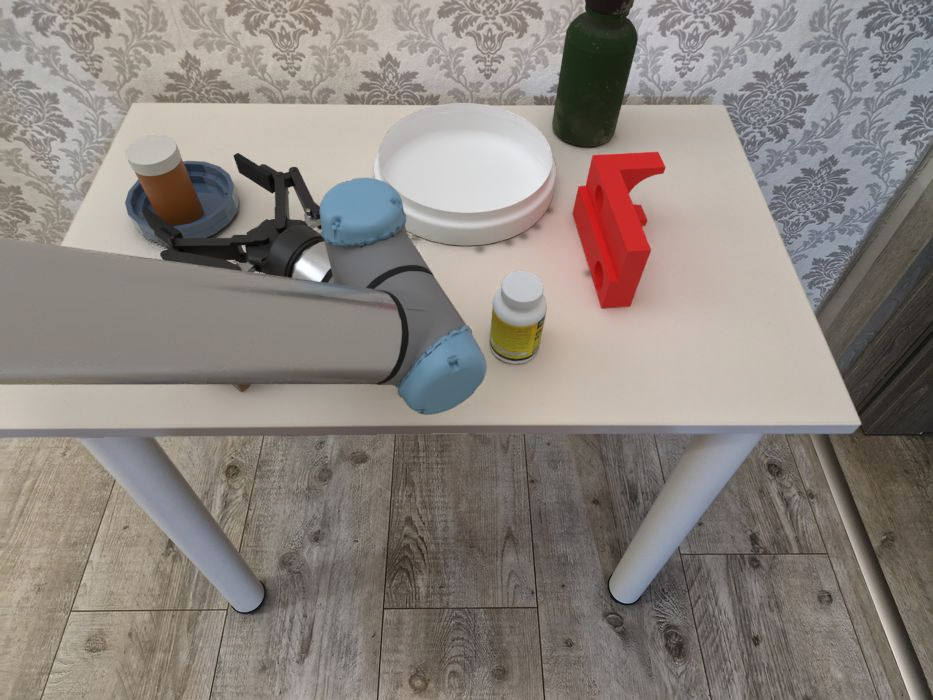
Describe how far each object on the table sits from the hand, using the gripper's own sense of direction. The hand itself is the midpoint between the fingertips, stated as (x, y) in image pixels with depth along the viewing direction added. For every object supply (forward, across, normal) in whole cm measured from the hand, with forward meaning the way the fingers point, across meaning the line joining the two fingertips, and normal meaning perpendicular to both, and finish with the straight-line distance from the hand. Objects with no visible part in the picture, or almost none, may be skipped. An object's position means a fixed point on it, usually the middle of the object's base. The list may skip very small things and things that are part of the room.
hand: (195, 188), depth 77 cm
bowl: (+9, +2, -10) cm, 13 cm away
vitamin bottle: (+8, 0, -9) cm, 12 cm away
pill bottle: (-42, +12, -10) cm, 45 cm away
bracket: (-44, +34, -10) cm, 57 cm away
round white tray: (-18, +32, -10) cm, 38 cm away
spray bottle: (-25, +56, -10) cm, 62 cm away
